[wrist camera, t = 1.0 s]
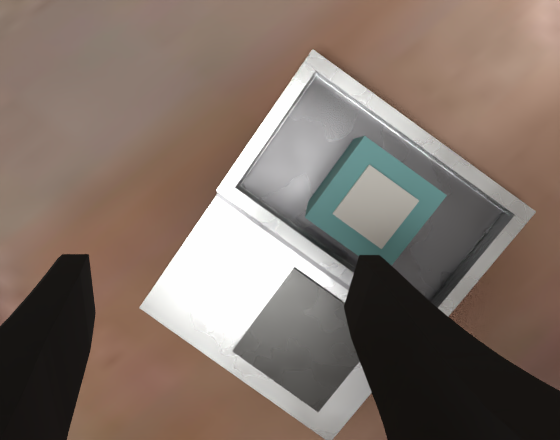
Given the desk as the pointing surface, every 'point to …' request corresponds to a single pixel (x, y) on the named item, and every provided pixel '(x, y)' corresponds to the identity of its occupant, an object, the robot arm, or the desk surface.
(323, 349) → the lid
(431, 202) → the block
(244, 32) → the desk surface
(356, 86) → the case
